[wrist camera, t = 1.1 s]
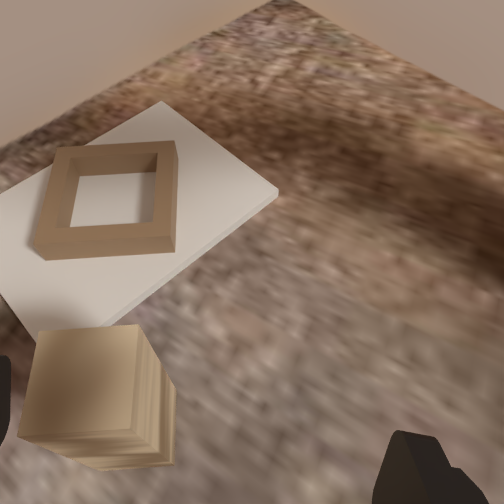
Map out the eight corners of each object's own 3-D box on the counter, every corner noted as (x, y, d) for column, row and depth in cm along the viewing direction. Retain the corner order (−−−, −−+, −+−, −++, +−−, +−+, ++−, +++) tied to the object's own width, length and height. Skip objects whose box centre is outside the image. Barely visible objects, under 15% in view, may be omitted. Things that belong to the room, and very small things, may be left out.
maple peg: (176, 390, 32) (138, 324, 22) (174, 465, 30) (130, 428, 20) (108, 395, 32) (39, 331, 22) (99, 470, 30) (17, 436, 20)
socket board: (163, 107, 50) (157, 80, 47) (278, 196, 42) (279, 170, 39) (-44, 229, 41) (-68, 205, 38) (56, 367, 34) (36, 351, 31)
